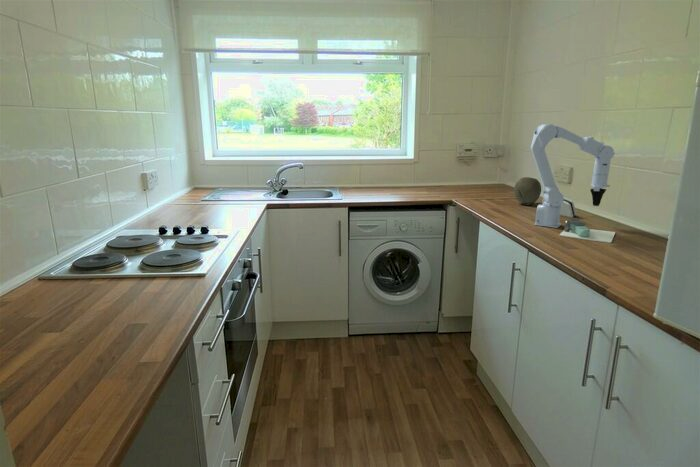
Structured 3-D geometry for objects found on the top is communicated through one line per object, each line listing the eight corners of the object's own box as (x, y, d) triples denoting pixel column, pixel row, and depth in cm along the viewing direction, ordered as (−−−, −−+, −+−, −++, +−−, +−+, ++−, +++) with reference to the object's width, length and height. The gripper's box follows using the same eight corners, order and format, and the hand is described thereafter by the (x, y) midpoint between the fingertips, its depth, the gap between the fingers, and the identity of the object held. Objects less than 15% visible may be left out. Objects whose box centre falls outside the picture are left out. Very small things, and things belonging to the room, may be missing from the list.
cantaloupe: (544, 206, 229) (547, 179, 225) (517, 206, 229) (520, 179, 225) (533, 202, 242) (536, 175, 238) (508, 201, 242) (511, 175, 239)
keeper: (564, 231, 176) (565, 221, 175) (563, 230, 178) (565, 220, 177) (583, 233, 173) (585, 222, 172) (583, 232, 175) (585, 221, 174)
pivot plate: (559, 235, 171) (560, 224, 170) (567, 227, 185) (568, 216, 184) (610, 243, 161) (612, 231, 160) (615, 233, 175) (617, 222, 174)
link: (565, 226, 183) (566, 220, 183) (578, 226, 183) (579, 221, 182) (578, 236, 167) (579, 230, 166) (592, 237, 166) (593, 230, 166)
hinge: (578, 216, 206) (576, 197, 202) (572, 220, 204) (570, 202, 200) (547, 210, 220) (545, 192, 216) (541, 214, 218) (539, 196, 214)
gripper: (609, 176, 172) (604, 209, 175) (613, 173, 183) (608, 204, 187) (590, 175, 176) (585, 207, 179) (594, 171, 187) (590, 202, 191)
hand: (595, 205), depth 183 cm, fingers closed
